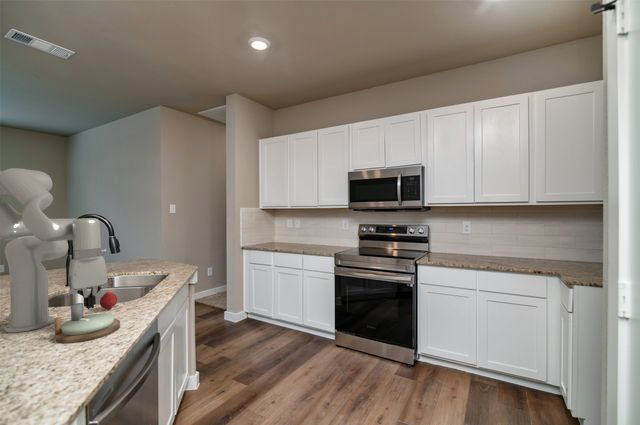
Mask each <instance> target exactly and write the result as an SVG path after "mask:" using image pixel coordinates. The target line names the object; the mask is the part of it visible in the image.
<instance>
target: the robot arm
mask: <svg viewBox="0 0 640 425" xmlns="http://www.w3.org/2000/svg"><path fill="white" fill-rule="evenodd" d="M52 187H53V180H52V178H51V176H50V175H48V173H46V172H43V171H41V170H33V169H27V168H14V167H13V168H8V169H7V168H6V169H4V170H3V171H2V170H0V195H10V196H12V198H13V199H14V200H15V201H17V203H18V204H19V205H20V206H21V207H22V210H21V211H22V212H18V211H17V210H16V209H15V208H13V206H12V205H11V204H10V203H9V202H8V201H7V200H5V199H3V198H2V197H0V240H3V241H8V242H7V243H6V246H5V248H4V254H5V255H4V256H5V258H6V261H7V265H8V269H9V270H8V271H9V290H10V291H9V292H10V293H9V294H10V298H9V300H10V301H9V302H10V313H9V315H8V316H7V315H6V316H4V321H8V323H9V324H7V325H5V326H4V327H3V328H4V329H3V330H4V332H5V333H9V334H10V333H23V332H30V331H33V330H38V329H41V328H44V327H47V326H49V325H51V324H53V323H55V317H54V316H51V315H50V316H49V314H50V312H49V275H48V271H47V269H46V267H45V266H44V265H43V263H42V262H46V261H50V260H57V259H60V258H63V257H65V255H67V253H68V250H69V243H68V241H72V250H73V252H72V254H73V258H72V259H70V260H69V261H70V262H69V267H68V287H69V290H68V293H69V294H71V295H76V294H77V295H80V296H82V297H83V307H85V308H86V309H87V310H90V309H94V308H95V305H96V304H97V301H96V300H97V299H96V296H97V295H98V293H99V292H100V291H101V290H104V289H106V288H108V287H109V284H108V270H107V269H108V268H107V264H106V261H105V257H104V256H103V254H106V253H107V249H106V248H102V244H101V243H102V241H101V237H102V236H101V221H100V220H99V219H98V218H93V217H92V218H91V217H89V218H88V217H87V218H74V217H73V218H49V217H48V216H47V215H46V214H45V213H44V212H43V211H44V210H45V209H47V208H48V207H49V206H51V205H52V203H53V201H54V197H53V195H52V194H51V193H50V191H51V189H52ZM88 289H90V293H89V292H88Z"/></svg>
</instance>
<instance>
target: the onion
mask: <svg viewBox="0 0 640 425" xmlns="http://www.w3.org/2000/svg"><path fill="white" fill-rule="evenodd" d="M117 303H118V297H117V295H116V293H113V292H112V290H111V289H110V290H109V289H108V290H107V291H106V292H105V293H104V294H103V295H102V296H101V298H100V299H99V306H100V307H101V308H102V309H105V310H107V311H110V310H112V309H113V308H114V307H115V306H116V305H117Z"/></svg>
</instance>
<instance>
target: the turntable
mask: <svg viewBox="0 0 640 425" xmlns="http://www.w3.org/2000/svg"><path fill="white" fill-rule="evenodd" d="M114 319H115V315H114V314H112V313H94V314H88V315H84V302H77V303H73V304H71V305H70V320H68V321H65V322H64V323H62V324H61V329H62V333H63V334H65V335H81V334H87V333H92V332H96V331H99V330H102V329H105V328H107V327H109V326H111V325H112V324H113V323H114Z"/></svg>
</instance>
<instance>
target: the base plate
mask: <svg viewBox="0 0 640 425" xmlns="http://www.w3.org/2000/svg"><path fill="white" fill-rule="evenodd" d="M61 322H62V321H61V316H57V317H54V341H55V342H56V343H58V344H78V343H79V344H80V343H85V342H89V341H93V340H97V339H100V338H101V339H102V338H104V337H106V336H109V335H111V334H113V333H115V332H117V331H118V330H119V329H120V328H121V321H120V320H119V319H118V318H114V323H113V324H112V325H111V326H109V327H107V328H105V329H102V330H99V331H96V332H92V333H87V334H81V335H65V334H63V333H62V324H61Z"/></svg>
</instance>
